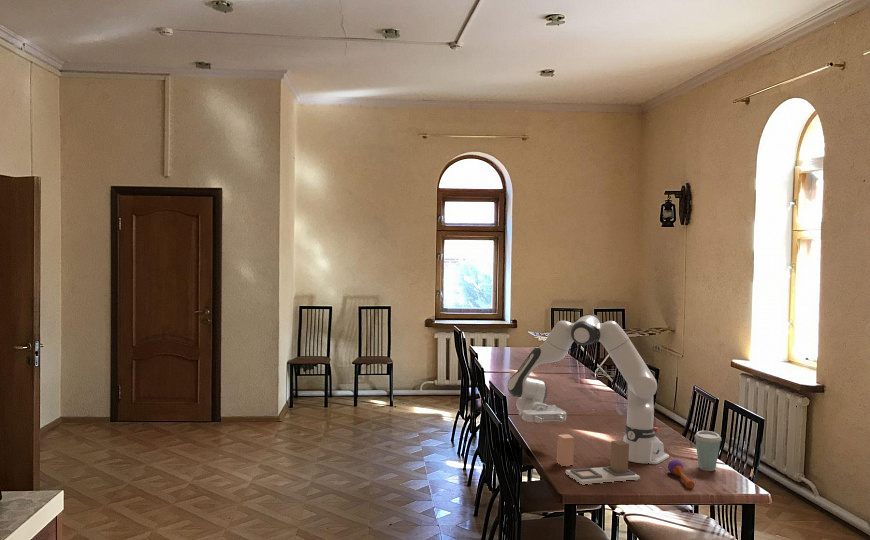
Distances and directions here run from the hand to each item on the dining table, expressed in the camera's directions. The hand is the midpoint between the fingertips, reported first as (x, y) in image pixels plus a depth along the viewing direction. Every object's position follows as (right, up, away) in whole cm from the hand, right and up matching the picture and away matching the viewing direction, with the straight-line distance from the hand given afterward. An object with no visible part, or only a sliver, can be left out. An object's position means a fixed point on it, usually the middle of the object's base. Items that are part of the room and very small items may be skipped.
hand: (552, 420), depth 302 cm
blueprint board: (+16, -17, -25) cm, 34 cm away
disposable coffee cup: (+64, -19, -9) cm, 67 cm away
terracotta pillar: (+4, -16, -11) cm, 20 cm away
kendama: (+48, -19, -24) cm, 57 cm away
